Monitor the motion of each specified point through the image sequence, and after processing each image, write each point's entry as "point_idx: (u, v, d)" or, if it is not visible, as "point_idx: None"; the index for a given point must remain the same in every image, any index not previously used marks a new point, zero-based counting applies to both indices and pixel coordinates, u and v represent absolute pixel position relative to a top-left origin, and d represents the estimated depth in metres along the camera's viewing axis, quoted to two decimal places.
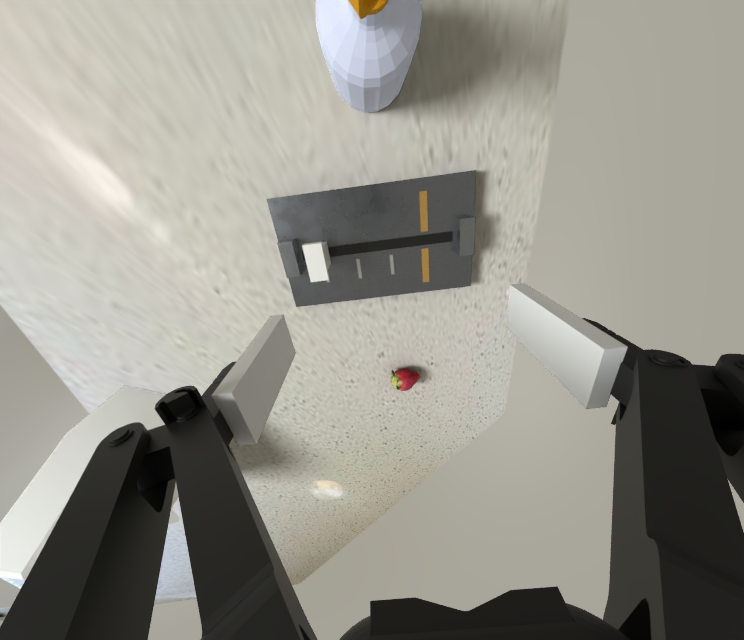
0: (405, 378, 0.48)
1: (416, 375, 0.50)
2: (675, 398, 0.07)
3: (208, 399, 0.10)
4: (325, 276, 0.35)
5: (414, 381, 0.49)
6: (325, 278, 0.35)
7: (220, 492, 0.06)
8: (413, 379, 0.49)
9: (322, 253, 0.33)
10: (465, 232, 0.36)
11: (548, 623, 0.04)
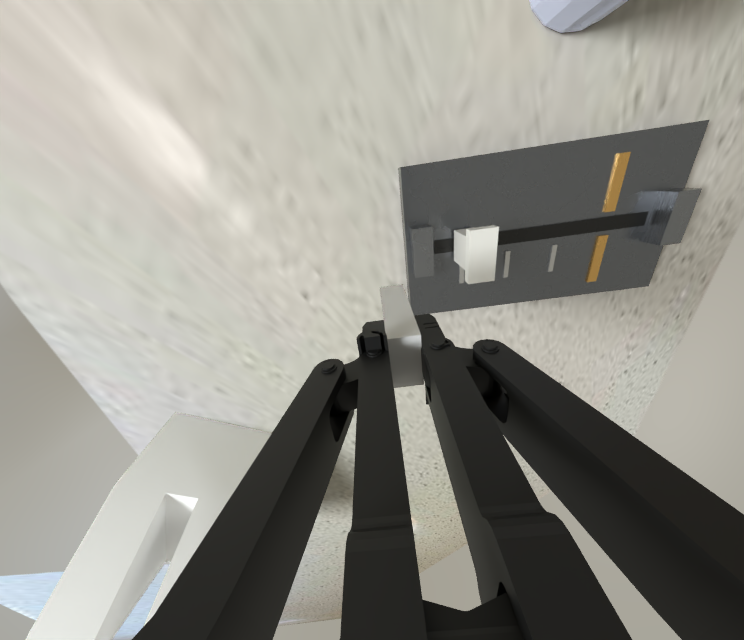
0: None
1: None
2: (453, 373, 0.09)
3: None
4: (491, 276, 0.24)
5: None
6: (490, 278, 0.24)
7: (384, 428, 0.07)
8: None
9: (496, 242, 0.23)
10: (679, 211, 0.26)
11: None
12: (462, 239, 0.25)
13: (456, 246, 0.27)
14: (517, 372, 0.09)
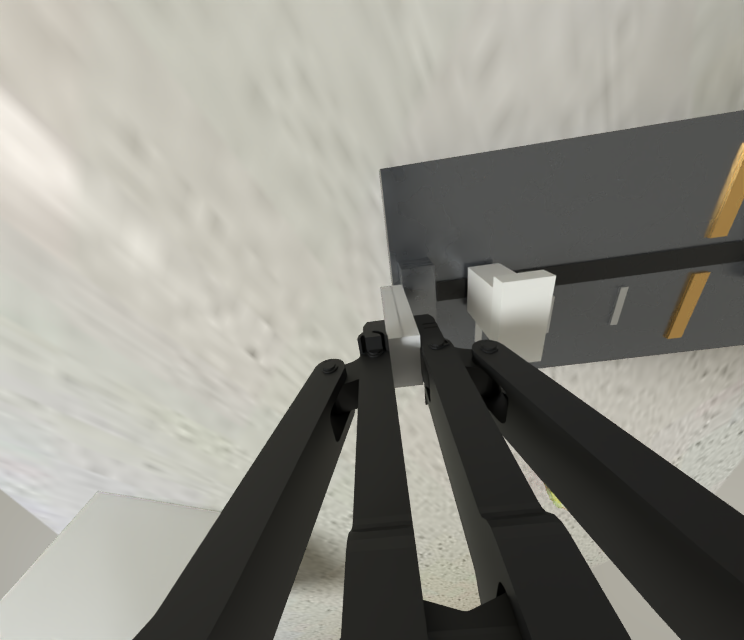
0: None
1: None
2: (452, 373, 0.09)
3: None
4: (536, 354, 0.14)
5: None
6: (534, 357, 0.14)
7: (385, 428, 0.07)
8: None
9: (548, 301, 0.13)
10: None
11: None
12: (484, 287, 0.15)
13: (473, 293, 0.17)
14: (516, 372, 0.09)
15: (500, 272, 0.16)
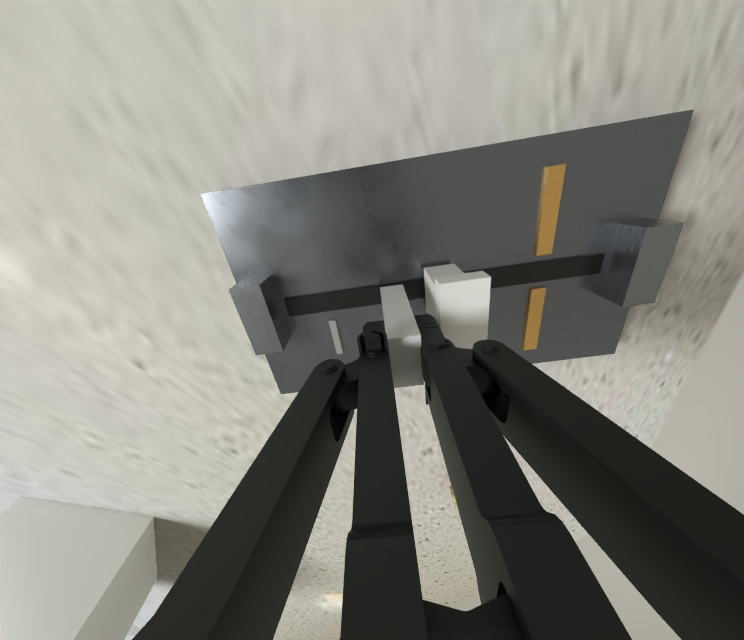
0: None
1: None
2: (453, 373, 0.09)
3: None
4: None
5: None
6: None
7: (384, 428, 0.07)
8: None
9: (487, 302, 0.13)
10: (649, 257, 0.16)
11: None
12: (433, 288, 0.15)
13: (428, 294, 0.17)
14: (517, 372, 0.09)
15: (450, 273, 0.16)
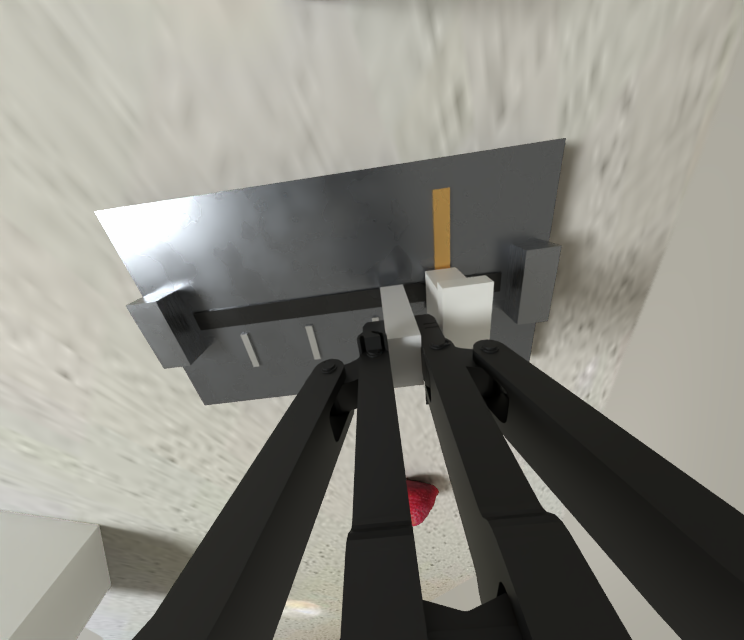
0: (416, 508, 0.28)
1: (433, 494, 0.30)
2: (453, 373, 0.09)
3: None
4: None
5: (430, 508, 0.29)
6: None
7: (384, 428, 0.07)
8: (428, 506, 0.29)
9: (489, 306, 0.13)
10: (535, 278, 0.16)
11: None
12: (435, 292, 0.15)
13: (429, 297, 0.17)
14: (517, 372, 0.09)
15: (452, 277, 0.16)
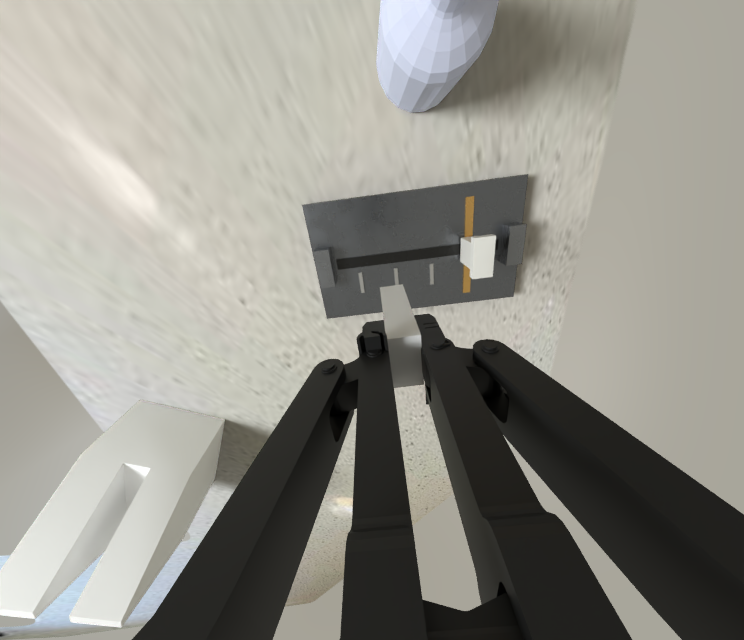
0: None
1: None
2: (453, 373, 0.09)
3: None
4: (490, 273, 0.31)
5: None
6: (489, 275, 0.32)
7: (384, 428, 0.07)
8: None
9: (494, 247, 0.30)
10: (514, 240, 0.34)
11: None
12: (468, 244, 0.32)
13: (463, 250, 0.35)
14: (517, 372, 0.09)
15: None
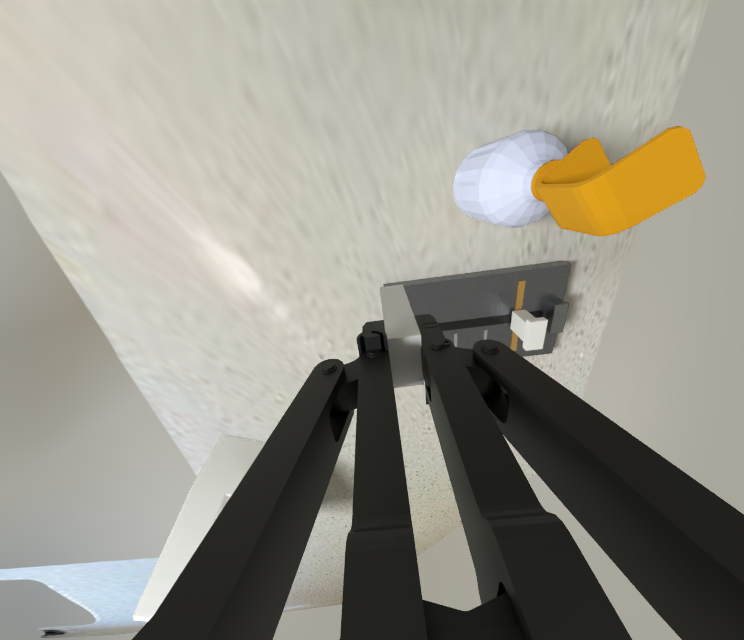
0: None
1: None
2: (453, 373, 0.09)
3: None
4: (540, 346, 0.39)
5: None
6: (540, 347, 0.39)
7: (384, 428, 0.07)
8: None
9: (545, 328, 0.38)
10: (558, 315, 0.41)
11: None
12: (521, 321, 0.40)
13: (514, 322, 0.42)
14: (517, 372, 0.09)
15: (526, 315, 0.40)
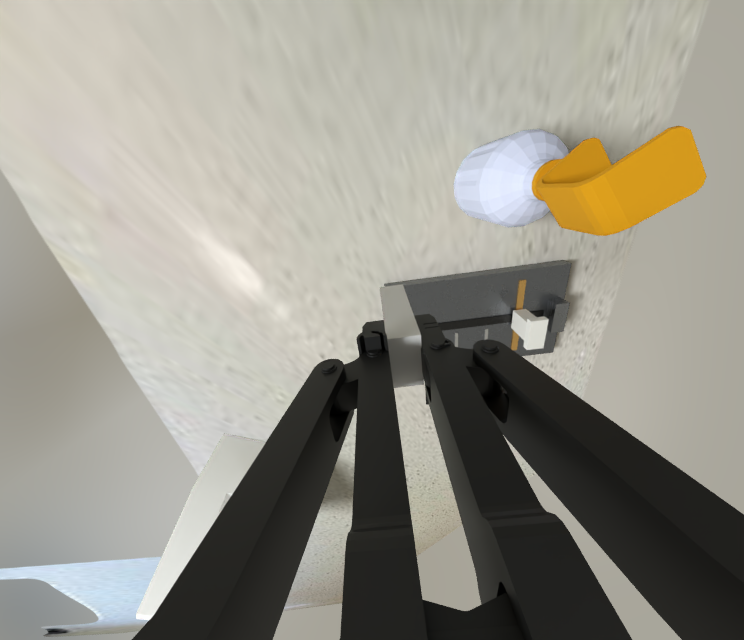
0: None
1: None
2: (453, 373, 0.09)
3: None
4: (541, 345, 0.39)
5: None
6: (541, 346, 0.39)
7: (384, 428, 0.07)
8: None
9: (546, 327, 0.38)
10: (558, 314, 0.41)
11: None
12: (522, 320, 0.40)
13: (515, 321, 0.42)
14: (517, 372, 0.09)
15: (527, 314, 0.41)
